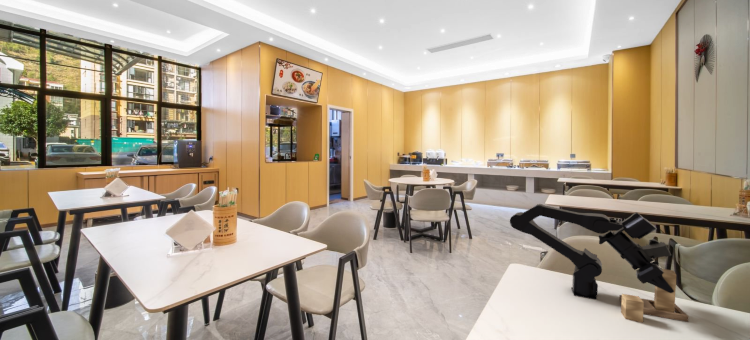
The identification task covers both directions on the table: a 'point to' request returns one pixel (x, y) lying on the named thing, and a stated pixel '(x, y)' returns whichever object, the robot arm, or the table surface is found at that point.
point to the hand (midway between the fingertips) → (671, 289)
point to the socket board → (651, 310)
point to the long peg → (666, 293)
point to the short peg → (632, 307)
